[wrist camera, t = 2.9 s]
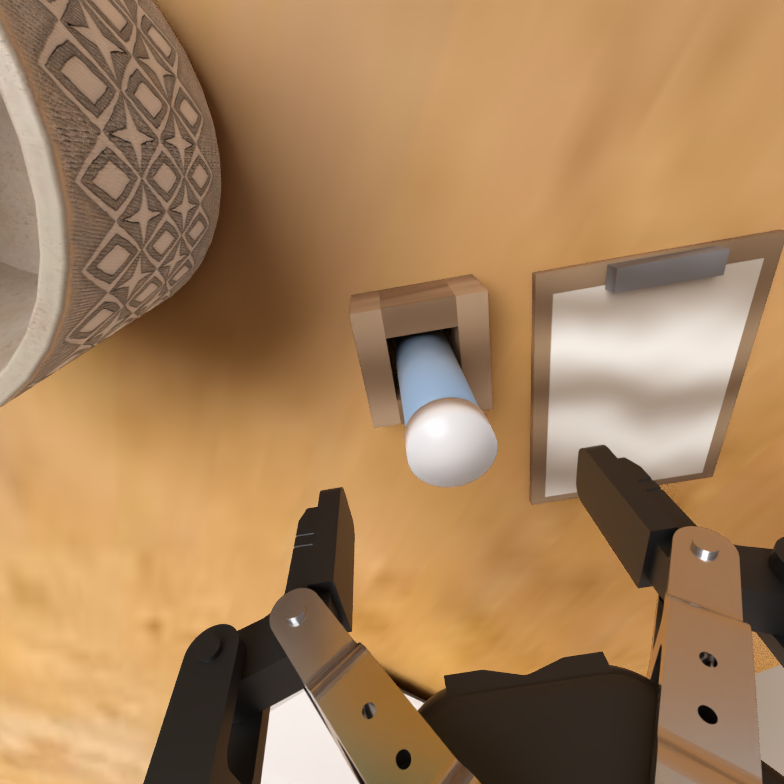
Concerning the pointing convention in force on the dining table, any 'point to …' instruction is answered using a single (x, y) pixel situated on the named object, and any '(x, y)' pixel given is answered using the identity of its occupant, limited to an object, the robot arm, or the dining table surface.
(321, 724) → the plate
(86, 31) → the planter
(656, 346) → the clipboard
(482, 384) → the pen block
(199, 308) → the dining table surface
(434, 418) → the marker
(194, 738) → the robot arm
